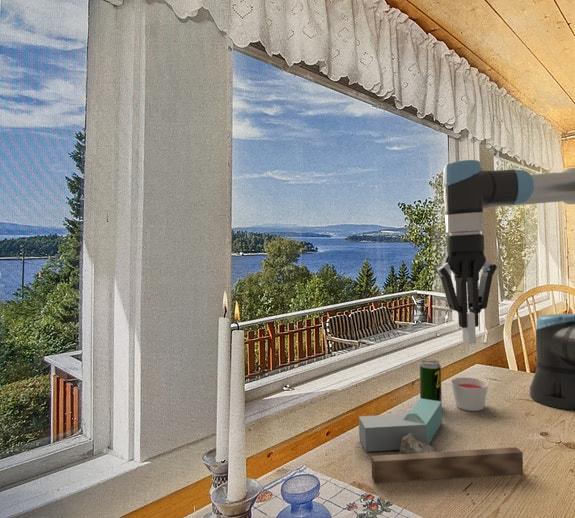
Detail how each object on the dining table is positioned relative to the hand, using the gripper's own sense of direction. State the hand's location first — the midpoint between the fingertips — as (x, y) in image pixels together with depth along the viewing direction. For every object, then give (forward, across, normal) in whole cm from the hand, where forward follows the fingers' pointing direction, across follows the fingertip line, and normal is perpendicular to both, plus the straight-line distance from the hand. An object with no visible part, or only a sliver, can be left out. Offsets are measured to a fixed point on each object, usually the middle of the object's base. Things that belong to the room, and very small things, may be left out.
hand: (469, 341), depth 94 cm
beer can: (+22, +1, -19) cm, 29 cm away
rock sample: (+21, +15, +8) cm, 27 cm away
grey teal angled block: (+21, +14, -4) cm, 26 cm away
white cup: (+22, -9, -18) cm, 30 cm away
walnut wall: (+21, +12, +13) cm, 28 cm away
